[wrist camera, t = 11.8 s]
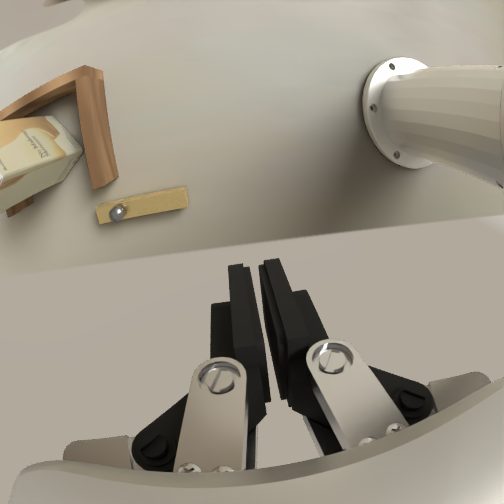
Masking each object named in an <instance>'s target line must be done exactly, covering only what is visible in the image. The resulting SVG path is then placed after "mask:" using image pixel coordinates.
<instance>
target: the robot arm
mask: <svg viewBox="0 0 504 504" xmlns="http://www.w3.org/2000/svg"><path fill="white" fill-rule="evenodd" d="M362 102H363V115H364V120H365V124H366V127H367V130H368V133H369V135H370V137H371V138H372V140H373V142H374V144H375V145H376V147H377V148H378V149H379V151H380V152H381V153H382V154H383V155H384V156H385V157H386V158H388V159H389V160H391V161H392V162H394V163H396V164H398V165H401V166H403V167H407V168H411V169H420V168H423V167H427V166H429V165H431V164H433V163H434V162H436V163H439V164H442V165H444V166H447V167H450V168H453V169H455V170H458V171H461V172H463V173H466V174H468V175H471V176H473V177H476V178H478V179H480V180H483V181H485V182H487V183H490V184H492V185H494V186H496V187H498V188H501V189H503V190H504V66H495V65H461V66H442V67H430V68H428V67H427V66H425V65H424V64H422V63H420V62H419V61H416V60H414V59H411V58H405V57H398V58H392V59H388V60H385V61H383V62H382V63H380V64H378V65H377V66H376V67H375V68H374V69H373V70H372V72H371V73H370V75H369V77H368V78H367V81H366V84H365V87H364V92H363V99H362ZM370 107H371V110H370ZM228 274H229V290H230V301H229V302H222V303H214V304H211V344H210V346H211V347H210V349H211V350H210V352H211V353H210V355H211V356H210V358H211V359H210V360H207V361H205V362H203V363H202V364H200V365H199V366H198V368H197V369H196V370H195V371H194V374H193V376H192V381H191V385H190V390H189V393H188V394H187V395H185V396H184V397H183V398H182V399H181V400H179V401H178V402H177V403H176V404H175V405H173V406H172V407H171V408H170V409H168V410H167V411H166V412H165V413H163V414H162V415H161V416H160V417H159V418H157V419H156V420H155V421H154V422H152V423H151V424H149V425H148V426H147V427H146V428H144V429H143V430H142V431H141V432H139V433H138V435H136V437H130V438H129V437H128V436H127V435H125V436H118V437H110V438H103V439H92V440H80V441H79V440H78V441H74V442H71V443H70V444H69V445H68V446H67V447H66V449H65V450H64V454H63V460H55V461H45V462H40V463H36V464H33V465H30V466H27V467H26V468H24V469H23V470H22V471H21V472H20V473H19V475H18V476H17V478H16V480H15V482H14V485H13V488H12V491H11V495H10V499H9V504H504V377H503V378H501V379H498V380H496V381H494V382H492V383H491V381H490V380H489V378H488V377H487V376H486V375H485V374H483V373H480V372H471V373H467V374H463V375H459V376H455V377H451V378H446V379H442V380H437V381H432V382H429V384H428V385H426V386H424V385H423V384H420V383H418V382H415V381H412V380H409V379H406V378H403V377H400V376H397V375H394V374H391V373H388V372H385V371H382V370H380V369H377V368H374V367H371V366H368V365H367V364H366V363H365V361H364V360H363V358H362V357H361V356H360V354H359V353H358V351H357V350H356V349H355V348H354V347H353V346H352V345H351V344H349V343H347V342H346V341H343V340H339V339H329V338H328V336H327V333H326V331H325V329H324V327H323V325H322V322H321V320H320V318H319V316H318V313H317V311H316V309H315V307H314V305H313V303H312V301H311V299H310V296H309V294H308V292H307V290H300V291H295V292H292V290H291V287H290V285H289V282H288V280H287V277H286V275H285V272H284V270H283V267H282V265H281V262H280V260H279V258H277V259H270V260H264V264H263V265H259V275H260V285H261V294H262V303H263V313H264V322H265V328H266V333H267V337H268V342H269V347H270V352H271V356H272V361H273V366H274V370H275V375H276V379H277V384H278V389H279V393H280V398H281V400H284V399H287V401H288V406H289V407H292V410H294V411H296V412H298V413H300V414H302V415H303V420H304V422H305V424H306V426H307V429H308V431H309V433H310V435H311V437H312V440H313V442H314V444H315V446H316V448H317V450H318V453H319V455H320V458H315V459H311V460H306V461H302V462H297V463H292V464H287V465H281V466H275V467H268V468H261V469H257V446H258V445H257V444H258V425H257V424H258V423H259V422H260V421H261V420H262V419H263V418H264V417H265V416H266V414H267V413H266V407H265V403H267V402H271V396H270V387H269V378H268V369H267V361H266V353H265V344H264V338H263V333H262V328H261V323H260V318H259V313H258V308H257V303H256V298H255V293H254V288H253V282H252V277H251V272H250V267H243V263H242V264H236V265H230V266H228Z"/></svg>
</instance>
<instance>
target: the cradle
mask: <svg viewBox="0 0 504 504" xmlns="http://www.w3.org/2000/svg"><path fill="white" fill-rule="evenodd" d="M75 91H76V93H77V103H78V111H79V119H80V126H81V132H82V138H83V144H84V149H85V155H86V160H87V164H88V169H89V174H90V178H91V182H92V186H93V189H96V188H100V187H103V186H105V185H106V184H108V183H109V182H111V181H113V180H114V179H116V178H117V177H119V176H118V171H117V166H116V161H115V156H114V151H113V145H112V140H111V134H110V128H109V121H108V114H107V107H106V99H105V90H104V79H103V71H101V70H98V69H95V68H92V67H89V66H86V65H84V66H81V67H79V68H77V69H74V70H72V71H70V72H68V73H66V74H64V75H62V76H59V77H57V78H55V79H53V80H52V81H50V82H48V83H46V84H44V85H42V86H40V87H39V88H37V89H35V90H33V91H31V92H30V93H28V94H26V95H25V96H23V97H21V98H20V99H18V100H17V101H15V102H14V103H12V104H11V105H9V106H8V107H6V108H5V109H3V110H2V111H0V121H5V120H12V119H20V118H23V117H25V116H26V115H28V114H30V113H32V112H33V111H35V110H37V109H39V108H41V107H43V106H45V105H47V104H49V103H51V102H53V101H55V100H57V99H59V98H61V97H63V96H66V95H68V94H70V93H72V92H75ZM32 203H33V201H32V197H31V196H30V197H28V198H26V199H25V200H23V201H21V202H19V203H17V204H15V205H14V206H12V207H10V208H8V209H7V210H6V212H7V215H8V217H11V216H13V215H15V214H16V213H18V212H19V211H21V210H22V209H24V208H26V207H27V206H29V205H30V204H32Z"/></svg>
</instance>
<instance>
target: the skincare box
mask: <svg viewBox="0 0 504 504" xmlns="http://www.w3.org/2000/svg"><path fill="white" fill-rule="evenodd" d="M82 152H83V149H82V147H81V146H80V145H79V144H78V143H77V142H76V140H75V139H74V138H73V137H72V136H71V135H70V134H69V133H68V131H67V130H66V129H65V128H64V127H63V126H62V125H61V124H60V123H59V122H58V121H57V120H56V119H55V118H54V117H53V116H40V117H29V118H20V119H12V120H5V121H0V213H2V212H3V211H5V210H7V209H8V208H10V207H12V206H14V205H15V204H17V203H19V202H21V201H23V200H25V199H26V198H28V197H30V196H32V195H34V194H36V193H38V192H40V191H42V190H44V189H46V188H48V187H50V186H52V185H54V184H56V183H58V182H61V181H63V180H64V179H65V177H66V176H67V174H68V173H69V171H70V170H71V169H72V167H73V166H74V164H75V163H76V161H77V160H78V158H79V157H80V155H81V154H82Z"/></svg>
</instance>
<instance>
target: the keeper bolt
mask: <svg viewBox="0 0 504 504" xmlns="http://www.w3.org/2000/svg"><path fill="white" fill-rule="evenodd" d="M188 203H189V200H188V195H187V189H186V186H184V187H178V188H173V189H167V190H162V191H157V192H152V193H147V194H142V195H137V196H133V197H128V198H124V199H119V200H115V201H111V202H106V203H102V204H100V205H99V206H98V207H97V208H95V210H96V214H97V217H98V221H99V224H103V223H107V222H112V221H113V222H115V223H117V222H120V221H121V220H122V219H127V218H132V217H137V216H142V215H147V214H153V213H158V212H164V211H169V210H175V209H181V208H187V206H188Z"/></svg>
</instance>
